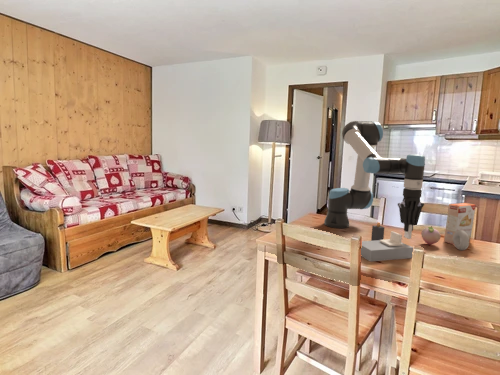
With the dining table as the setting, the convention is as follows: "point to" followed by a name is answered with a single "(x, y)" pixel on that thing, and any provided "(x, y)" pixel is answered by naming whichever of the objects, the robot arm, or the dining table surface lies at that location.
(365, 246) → the socket housing
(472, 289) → the dining table surface
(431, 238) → the decorative fruit
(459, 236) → the donut
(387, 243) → the cream l-shaped bracket
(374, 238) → the plug
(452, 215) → the cracker box
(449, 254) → the dining table surface
